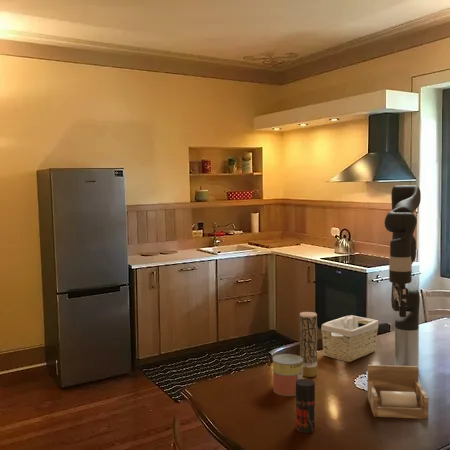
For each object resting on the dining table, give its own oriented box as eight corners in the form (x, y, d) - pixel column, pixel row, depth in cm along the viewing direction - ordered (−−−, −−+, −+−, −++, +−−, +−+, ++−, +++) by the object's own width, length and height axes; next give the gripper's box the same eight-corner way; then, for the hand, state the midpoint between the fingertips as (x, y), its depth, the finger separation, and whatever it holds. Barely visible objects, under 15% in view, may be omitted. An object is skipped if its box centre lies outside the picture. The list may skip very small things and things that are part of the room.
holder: (367, 397, 185) (367, 364, 184) (417, 398, 183) (417, 366, 182) (373, 416, 170) (373, 381, 169) (428, 418, 168) (428, 382, 167)
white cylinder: (379, 393, 178) (381, 388, 174) (412, 394, 177) (415, 390, 172) (380, 409, 175) (382, 405, 171) (414, 411, 174) (417, 407, 169)
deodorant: (294, 424, 166) (293, 379, 164) (312, 423, 166) (312, 378, 165) (298, 433, 160) (298, 386, 159) (317, 432, 160) (317, 385, 159)
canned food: (299, 397, 186) (299, 365, 185) (269, 394, 190) (269, 362, 189) (306, 386, 197) (305, 355, 196) (277, 382, 201) (276, 352, 200)
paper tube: (317, 378, 204) (316, 316, 202) (299, 377, 205) (299, 315, 203) (317, 372, 211) (317, 312, 209) (300, 371, 212) (300, 311, 210)
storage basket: (349, 344, 246) (349, 313, 245) (380, 351, 235) (380, 319, 233) (319, 356, 230) (319, 323, 229) (351, 365, 218) (350, 330, 217)
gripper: (416, 272, 175) (415, 319, 176) (407, 265, 189) (406, 309, 190) (393, 272, 176) (392, 319, 177) (386, 265, 190) (385, 308, 191)
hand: (400, 313), depth 183 cm, fingers open, 8 cm apart
